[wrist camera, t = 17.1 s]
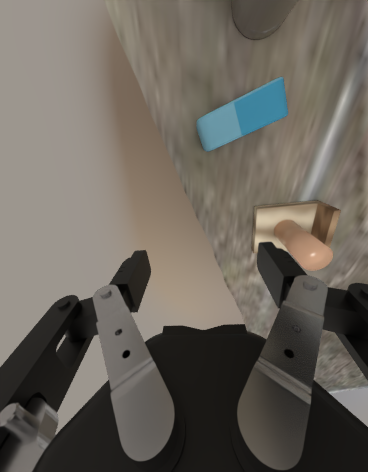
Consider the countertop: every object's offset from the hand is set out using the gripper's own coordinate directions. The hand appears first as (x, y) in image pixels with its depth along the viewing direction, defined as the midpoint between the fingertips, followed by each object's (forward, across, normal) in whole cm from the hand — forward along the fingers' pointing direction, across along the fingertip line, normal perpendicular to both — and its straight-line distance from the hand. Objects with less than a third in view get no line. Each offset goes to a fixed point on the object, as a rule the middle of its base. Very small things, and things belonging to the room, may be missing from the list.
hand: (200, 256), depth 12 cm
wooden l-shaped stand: (+30, -20, +13) cm, 38 cm away
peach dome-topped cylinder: (+28, -20, +13) cm, 37 cm away
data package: (+30, -7, -10) cm, 33 cm away
